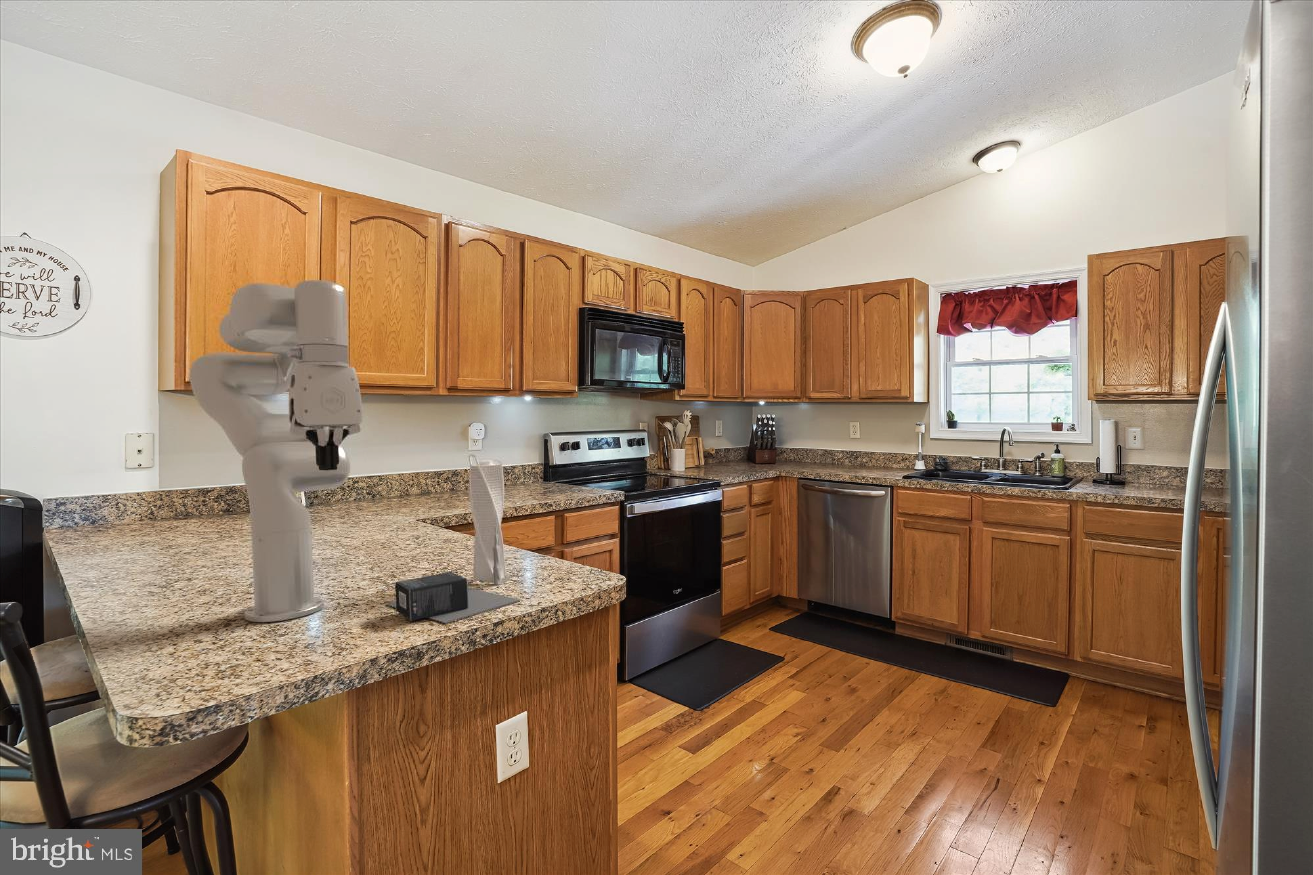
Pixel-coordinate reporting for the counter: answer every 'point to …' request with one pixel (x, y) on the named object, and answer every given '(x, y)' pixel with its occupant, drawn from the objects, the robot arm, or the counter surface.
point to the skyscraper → (487, 520)
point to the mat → (474, 605)
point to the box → (431, 595)
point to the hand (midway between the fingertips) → (327, 469)
